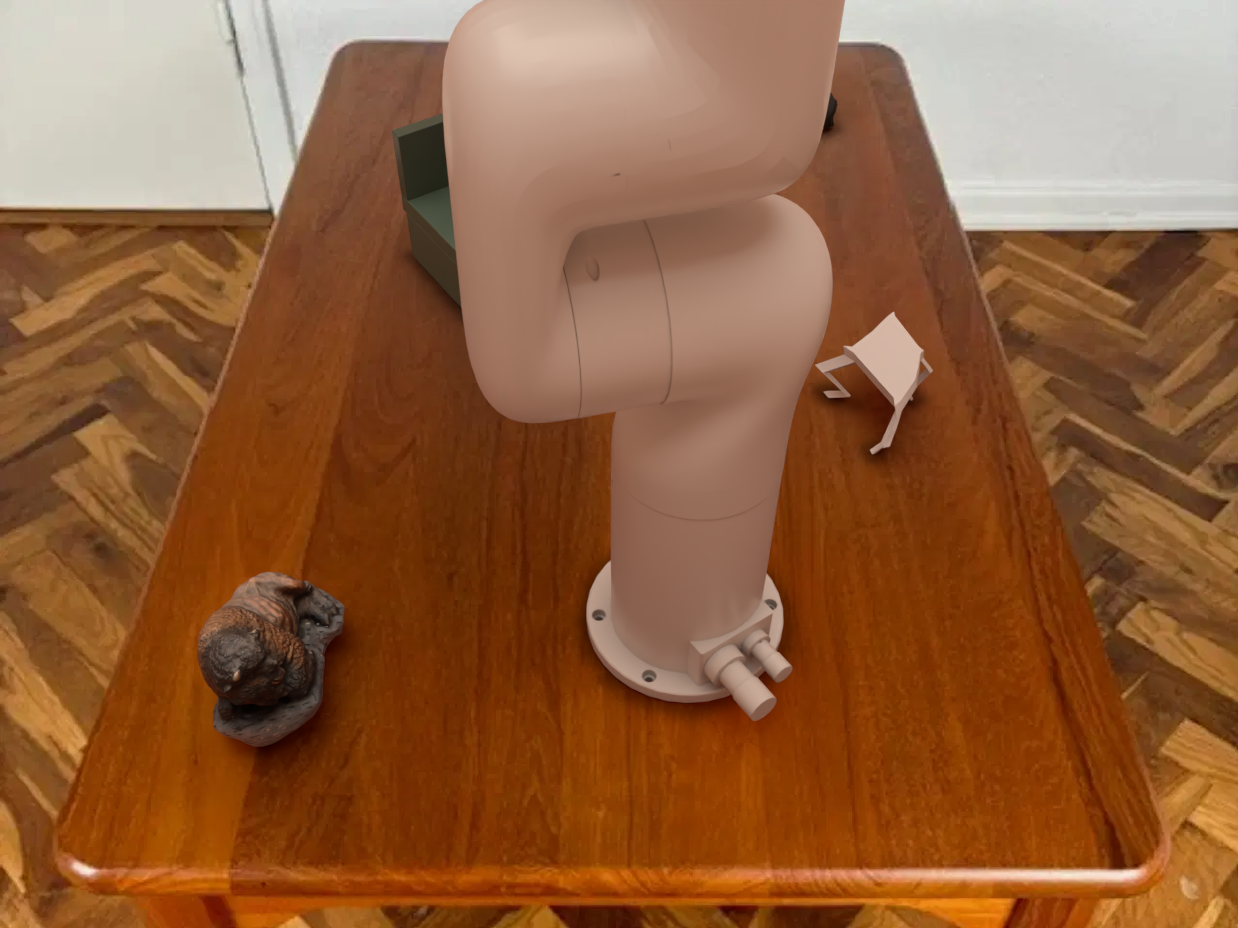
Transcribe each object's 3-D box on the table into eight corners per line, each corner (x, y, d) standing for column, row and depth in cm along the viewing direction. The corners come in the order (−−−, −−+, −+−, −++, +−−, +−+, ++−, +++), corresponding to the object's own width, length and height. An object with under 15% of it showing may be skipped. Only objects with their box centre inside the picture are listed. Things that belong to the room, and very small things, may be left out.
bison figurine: (247, 603, 78) (209, 502, 70) (356, 601, 78) (330, 499, 71) (211, 770, 70) (164, 675, 62) (333, 767, 70) (300, 672, 62)
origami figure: (801, 363, 94) (809, 314, 90) (903, 353, 95) (915, 305, 91) (842, 474, 86) (853, 426, 82) (954, 462, 87) (969, 414, 83)
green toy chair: (585, 274, 101) (583, 151, 93) (472, 321, 97) (459, 197, 88) (518, 211, 108) (510, 90, 99) (409, 252, 103) (391, 130, 95)
